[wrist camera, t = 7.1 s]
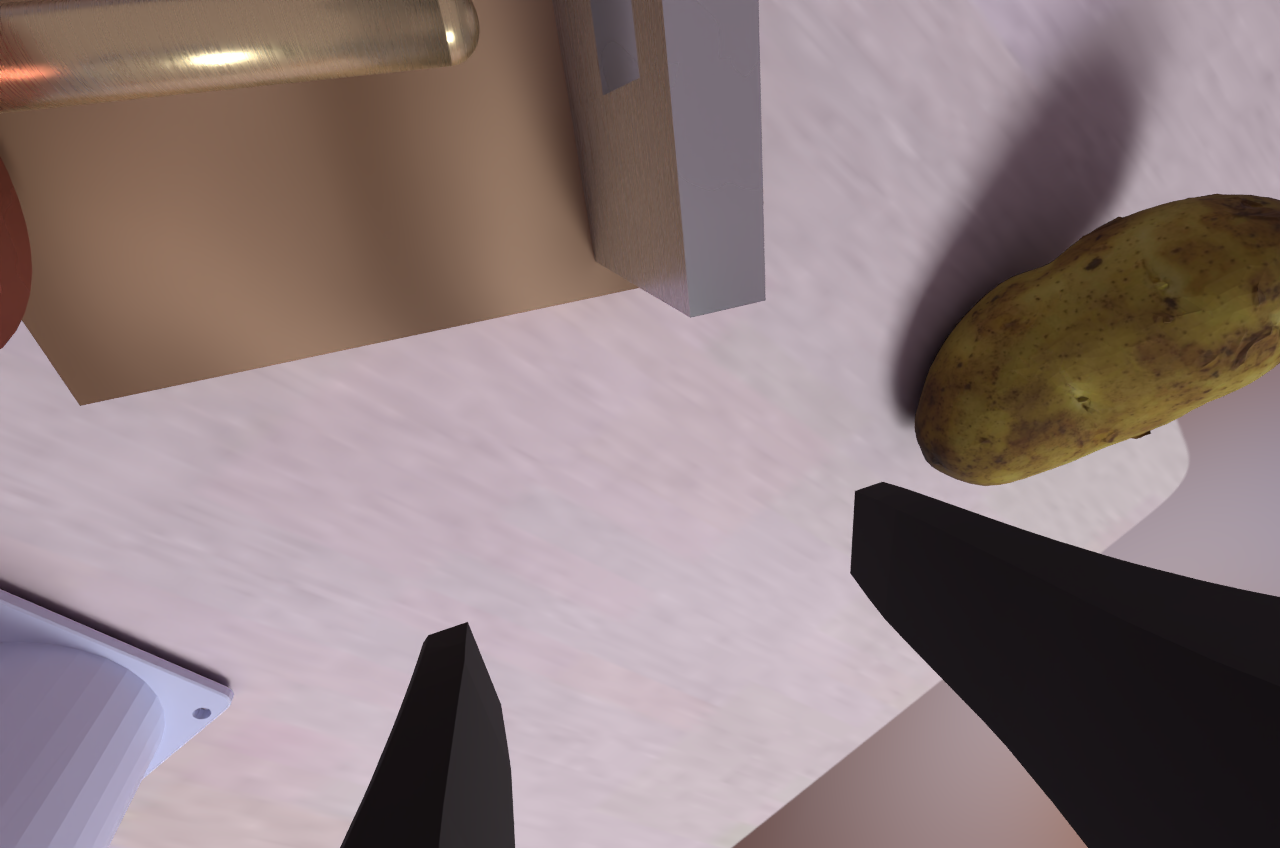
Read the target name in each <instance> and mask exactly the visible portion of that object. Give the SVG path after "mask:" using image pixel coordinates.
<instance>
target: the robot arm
mask: <svg viewBox="0 0 1280 848" xmlns="http://www.w3.org/2000/svg"><path fill="white" fill-rule="evenodd" d="M850 573H851V575H852V576H853V577H854V579H855V580H856V582H857V583H858V584H859V586H860V587H861V588H862V590H863V591H864V593H865V594H866V595H867V597H868V598H869V599H870V601H871V602H872V603H873V604H874V606H875V607H876V608H877V610H878V611H879V612H880V613H881V615H882V616H883V617H884V619H885V620H886V621H887V622H888V623H889V624H890V625H891V626H892V627H893V628H894V629H895V630H896V631H897V632H898V633H899V635H900V636H901V637H902V638H903V639H904V640H905V641H906V642H907V643H908V644H909V645H910V646H911V647H912V648H913V649H914V650H915V651H916V652H917V653H918V654H919V655H920V656H921V657H922V659H923V660H924V661H925V662H926V663H927V664H928V665H929V666H930V667H931V668H932V669H933V670H934V671H935V672H936V673H937V674H938V675H939V676H940V677H941V678H942V679H943V680H944V681H945V682H946V683H947V684H948V685H949V686H950V687H951V688H952V689H953V690H954V691H955V692H956V693H957V694H958V695H959V696H960V698H962V700H964V702H965V703H966V704H967V705H968V706H969V707H970V708H971V709H972V710H973V711H974V712H975V713H976V714H977V715H978V716H979V717H980V718H981V719H982V720H983V721H984V722H985V723H986V724H987V725H988V727H989V728H990V729H991V730H992V731H993V732H994V733H995V734H996V735H997V737H999V739H1000V740H1001V741H1002V742H1003V743H1004V744H1005V745H1006V746H1007V748H1008V749H1009V750H1010V751H1011V752H1012V754H1013V755H1014V756H1015V757H1016V758H1017V760H1018V761H1019V762H1020V763H1021V765H1022V766H1023V767H1024V768H1025V769H1026V771H1027V772H1028V773H1029V774H1030V776H1031V777H1032V778H1033V779H1034V780H1035V782H1036V783H1037V784H1038V785H1039V786H1040V788H1041V789H1042V790H1043V791H1044V792H1045V794H1046V795H1047V796H1048V797H1049V798H1050V799H1051V801H1052V802H1053V803H1054V805H1055V806H1056V807H1057V809H1058V810H1059V811H1060V812H1061V814H1062V815H1063V816H1064V817H1065V819H1066V820H1067V821H1068V823H1069V824H1070V825H1071V827H1072V828H1073V829H1074V830H1075V831H1076V833H1077V834H1078V835H1079V837H1080V838H1081V839H1082V840H1083V842H1084V843H1085V844H1086V846H1087V847H1088V848H1280V597H1277V596H1272V595H1267V594H1261V593H1256V592H1251V591H1246V590H1242V589H1237V588H1233V587H1228V586H1223V585H1219V584H1214V583H1210V582H1206V581H1201V580H1197V579H1193V578H1189V577H1185V576H1181V575H1177V574H1173V573H1169V572H1165V571H1161V570H1157V569H1153V568H1150V567H1146V566H1142V565H1138V564H1134V563H1130V562H1127V561H1123V560H1120V559H1116V558H1112V557H1109V556H1105V555H1102V554H1099V553H1096V552H1092V551H1089V550H1086V549H1083V548H1079V547H1076V546H1073V545H1069V544H1066V543H1063V542H1059V541H1056V540H1053V539H1050V538H1047V537H1044V536H1041V535H1038V534H1035V533H1032V532H1029V531H1026V530H1023V529H1020V528H1017V527H1014V526H1011V525H1008V524H1005V523H1002V522H999V521H996V520H994V519H991V518H988V517H985V516H982V515H979V514H976V513H974V512H971V511H968V510H965V509H962V508H960V507H957V506H954V505H951V504H948V503H945V502H943V501H940V500H937V499H934V498H931V497H928V496H925V495H923V494H920V493H917V492H914V491H911V490H908V489H905V488H902V487H898V486H895V485H892V484H888V483H885V482H881V483H878V484H875V485H872V486H869V487H866V488H863V489H860V490H857V491H855V502H854V519H853V537H852V554H851V572H850ZM233 696H234V693H233V691H232V690H231V689H230V688H228V687H227V686H224V685H222V684H220V683H217V682H215V681H213V680H210V679H208V678H206V677H203V676H201V675H199V674H196V673H194V672H192V671H189V670H187V669H185V668H182V667H180V666H178V665H175V664H173V663H171V662H169V661H166V660H164V659H162V658H159V657H157V656H155V655H152V654H150V653H148V652H145V651H143V650H141V649H138V648H136V647H134V646H131V645H129V644H127V643H124V642H122V641H120V640H117V639H115V638H113V637H110V636H108V635H106V634H104V633H101V632H99V631H97V630H94V629H92V628H90V627H87V626H85V625H83V624H80V623H78V622H76V621H73V620H71V619H69V618H66V617H64V616H62V615H59V614H57V613H55V612H52V611H50V610H48V609H45V608H43V607H41V606H38V605H36V604H34V603H32V602H29V601H27V600H25V599H22V598H20V597H18V596H15V595H13V594H11V593H8V592H6V591H4V590H1V589H0V848H108V847H109V845H110V843H111V841H112V839H113V837H114V835H115V833H116V831H117V829H118V827H119V825H120V823H121V821H122V819H123V817H124V815H125V813H126V811H127V809H128V807H129V805H130V803H131V801H132V799H133V797H134V795H135V793H136V791H137V789H138V787H139V785H140V783H141V781H142V779H143V778H145V777H146V776H147V775H148V774H149V773H151V772H152V771H153V770H154V769H155V768H157V767H158V766H159V765H160V764H161V763H163V762H164V761H165V760H166V759H167V758H169V757H170V756H171V755H172V754H173V753H175V752H176V751H177V750H178V749H179V748H181V747H182V746H183V745H184V744H185V743H187V742H188V741H189V740H190V739H191V738H193V737H194V736H195V735H196V734H198V733H199V732H200V731H201V730H202V729H204V728H205V727H206V726H207V725H208V724H210V723H211V722H212V721H213V720H214V719H216V718H217V717H218V716H219V715H220V714H222V713H223V712H224V711H225V710H226V709H227V708H228V707H229V706H230V704H231V702H232V699H233ZM200 708H207V709H200ZM340 848H515V837H514V817H513V798H512V779H511V767H510V760H509V753H508V746H507V739H506V733H505V727H504V721H503V714H502V708H501V703H500V701H499V698H498V696H497V694H496V691H495V689H494V686H493V684H492V681H491V679H490V676H489V674H488V671H487V669H486V666H485V664H484V661H483V659H482V656H481V654H480V651H479V649H478V646H477V644H476V641H475V639H474V636H473V634H472V631H471V629H470V627H469V624H468V622H466V623H463V624H460V625H457V626H454V627H451V628H449V629H446V630H443V631H440V632H437V633H434V634H431V635H428V637H427V638H426V640H425V641H424V643H423V646H422V649H421V652H420V655H419V658H418V661H417V664H416V666H415V669H414V672H413V675H412V678H411V681H410V684H409V686H408V689H407V692H406V694H405V697H404V700H403V702H402V705H401V708H400V710H399V713H398V715H397V718H396V721H395V723H394V726H393V728H392V731H391V733H390V736H389V738H388V740H387V743H386V745H385V748H384V750H383V753H382V755H381V757H380V760H379V762H378V765H377V767H376V769H375V772H374V774H373V777H372V779H371V781H370V784H369V786H368V788H367V791H366V793H365V795H364V797H363V800H362V802H361V804H360V806H359V808H358V810H357V812H356V815H355V817H354V819H353V821H352V823H351V825H350V828H349V830H348V832H347V834H346V836H345V838H344V840H343V843H342V845H341V847H340Z"/></svg>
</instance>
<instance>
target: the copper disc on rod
mask: <svg viewBox="0 0 1280 848" xmlns="http://www.w3.org/2000/svg"><path fill="white" fill-rule="evenodd" d="M479 32H480V25H479V19H478V15H477V11H476V9H475V7H474V4H473V2H472V1H471V0H39V1H24V2H9V3H0V113H10V112H19V111H29V110H38V109H48V108H57V107H67V106H76V105H86V104H96V103H105V102H115V101H124V100H134V99H143V98H153V97H162V96H172V95H182V94H191V93H201V92H210V91H220V90H229V89H239V88H249V87H258V86H268V85H277V84H287V83H296V82H306V81H315V80H325V79H335V78H344V77H354V76H363V75H373V74H382V73H392V72H402V71H411V70H421V69H430V68H440V67H449V66H455V65H459V64H461V63H463V62H465V61H466V60H467V59H468V58H469V57H470V56H471V55H472V54H473V52H474V51H475V49H476V47H477V44H478V40H479ZM31 280H32V260H31V247H30V242H29V236H28V231H27V226H26V222H25V219H24V215H23V212H22V209H21V205H20V202H19V199H18V196H17V194H16V191H15V188H14V186H13V183H12V181H11V178H10V176H9V173H8V171H7V169H6V167H5V165H4V163H3V161H2V159H1V157H0V349H1V348H3V347H4V345H5V344H6V343H7V342H8V340H9V339H10V338H11V337H12V335H13V334H14V333H15V332H16V330H17V328H18V326H19V324H20V322H21V320H22V318H23V316H24V314H25V311H26V307H27V304H28V300H29V296H30V291H31Z"/></svg>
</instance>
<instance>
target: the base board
mask: <svg viewBox="0 0 1280 848" xmlns="http://www.w3.org/2000/svg"><path fill="white" fill-rule="evenodd" d="M24 1H39V0H0V3H9V2H24ZM471 1H472V2H473V4H474V7H475V9H476V11H477V15H478V19H479V25H480V32H479V40H478V44H477V47H476V49H475V51H474V52H473V54H472V55H471V56H470V57H469V58H468V59H467V60H466V61H465V62H463V63H461V64H459V65H455V66H449V67H440V68H430V69H421V70H411V71H402V72H392V73H382V74H373V75H363V76H354V77H344V78H335V79H325V80H315V81H306V82H296V83H287V84H277V85H268V86H258V87H249V88H239V89H229V90H220V91H210V92H201V93H191V94H182V95H172V96H162V97H153V98H143V99H134V100H124V101H115V102H105V103H96V104H86V105H76V106H67V107H57V108H48V109H38V110H29V111H19V112H10V113H0V157H1V159H2V161H3V163H4V165H5V167H6V169H7V171H8V173H9V176H10V178H11V181H12V183H13V186H14V188H15V191H16V194H17V196H18V199H19V202H20V205H21V209H22V212H23V215H24V219H25V222H26V226H27V231H28V236H29V242H30V247H31V260H32V280H31V291H30V296H29V300H28V304H27V307H26V311H25V314H24V316H23V318H22V321H23V322H24V324H25V325H26V327H27V328H28V330H29V331H30V333H31V334H32V336H33V337H34V339H35V340H36V341H37V343H38V344H39V346H40V347H41V349H42V350H43V352H44V353H45V355H46V356H47V358H48V359H49V361H50V362H51V364H52V365H53V367H54V368H55V370H56V371H57V372H58V374H59V375H60V377H61V378H62V380H63V381H64V383H65V384H66V386H67V387H68V389H69V390H70V392H71V393H72V395H73V396H74V398H75V399H76V400H77V402H78V403H79V405H80V406H81V405H86V404H90V403H95V402H100V401H105V400H109V399H114V398H119V397H124V396H128V395H133V394H138V393H143V392H147V391H152V390H157V389H162V388H166V387H171V386H176V385H181V384H185V383H190V382H195V381H199V380H204V379H209V378H214V377H218V376H223V375H228V374H233V373H237V372H242V371H247V370H252V369H256V368H261V367H266V366H271V365H275V364H280V363H285V362H290V361H294V360H299V359H304V358H309V357H313V356H318V355H323V354H327V353H332V352H337V351H342V350H346V349H351V348H356V347H361V346H365V345H370V344H375V343H380V342H384V341H389V340H394V339H399V338H403V337H408V336H413V335H418V334H422V333H427V332H432V331H436V330H441V329H446V328H451V327H455V326H460V325H465V324H470V323H474V322H479V321H484V320H489V319H493V318H498V317H503V316H508V315H512V314H517V313H522V312H527V311H531V310H536V309H541V308H546V307H550V306H555V305H560V304H564V303H569V302H574V301H579V300H583V299H588V298H593V297H598V296H602V295H607V294H612V293H617V292H621V291H626V290H631V289H636V288H639V287H638V286H636V285H634V284H633V283H631V282H629V281H627V280H626V279H624V278H622V277H621V276H619V275H617V274H615V273H614V272H612V271H610V270H609V269H607V268H605V267H604V266H602V265H600V264H598V263H597V262H595V256H594V250H593V244H592V238H591V232H590V226H589V220H588V214H587V208H586V202H585V196H584V190H583V184H582V178H581V172H580V166H579V159H578V153H577V147H576V141H575V135H574V129H573V123H572V117H571V111H570V105H569V99H568V93H567V87H566V81H565V75H564V69H563V62H562V56H561V50H560V44H559V38H558V32H557V26H556V20H555V14H554V8H553V2H552V0H471Z"/></svg>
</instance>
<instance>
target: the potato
mask: <svg viewBox="0 0 1280 848" xmlns="http://www.w3.org/2000/svg"><path fill="white" fill-rule="evenodd" d="M1279 363H1280V200H1277V199H1273V198H1269V197H1259V196H1254V195H1222V194H1213V195H1207V196H1201V197H1195V198H1187V199H1184V200H1178V201H1173V202H1169V203H1166V204H1162V205H1159V206H1156V207H1152V208H1149V209H1146V210H1142V211H1139V212H1137V213H1134V214H1131V215H1129V216H1126V217H1123V218H1122V217H1117V218H1116V219H1114V220H1112V221H1110V222H1108V223H1106V224H1104V225H1102V226H1100V227H1099V228H1097V229H1095V230H1094V231H1092V232H1091V233H1089V234H1087V235H1085V236H1083V237H1082V238H1081V239H1080V240H1079V241H1077V242H1076V243H1075V244H1073V245H1072V246H1071V247H1069V248H1068V249H1067V250H1066V251H1065V252H1064V253H1062V254H1061V255H1060V256H1059V257H1058V258H1056V259H1055V260H1054V261H1053V262H1051V263H1049V264H1047V265H1045V266H1043V267H1040V268H1037V269H1034V270H1031V271H1028V272H1025V273H1022V274H1019V275H1016V276H1014V277H1011V278H1010V279H1008V280H1006V281H1004V282H1003V283H1001V284H999V285H998V286H997V287H995V288H994V289H993V290H992V291H990V292H989V293H988V294H987V295H986V296H984V297H983V298H982V299H981V300H980V301H979V302H978V303H977V304H976V305H975V306H974V307H973V308H972V309H971V310H970V311H969V312H968V313H967V314H966V315H965V316H964V317H963V318H962V319H961V321H960V322H959V323H958V324H957V326H956V327H955V328H954V330H953V331H952V332H951V334H950V335H949V336H948V338H947V339H946V340H945V342H944V344H943V345H942V347H941V349H940V350H939V352H938V354H937V356H936V358H935V360H934V362H933V364H932V365H931V367H930V370H929V372H928V375H927V377H926V381H925V384H924V387H923V390H922V393H921V396H920V400H919V404H918V408H917V411H916V415H915V433H916V438H917V441H918V444H919V446H920V448H921V451H922V453H923V455H924V458H925V460H926V461H927V462H928V463H929V464H930V465H931V466H932V467H933V468H935V469H937V470H939V471H940V472H942V473H944V474H946V475H948V476H950V477H953V478H955V479H957V480H961V481H964V482H967V483H970V484H976V485H982V486H989V485H1001V484H1006V483H1011V482H1014V481H1017V480H1020V479H1024V478H1027V477H1030V476H1033V475H1036V474H1039V473H1042V472H1044V471H1047V470H1050V469H1053V468H1056V467H1059V466H1061V465H1064V464H1067V463H1069V462H1072V461H1074V460H1077V459H1079V458H1081V457H1084V456H1086V455H1088V454H1091V453H1093V452H1095V451H1097V450H1100V449H1102V448H1105V447H1107V446H1110V445H1113V444H1116V443H1118V442H1121V441H1124V440H1127V439H1129V438H1134V439H1137V438H1141V437H1143V436H1145V435H1148V434H1151V432H1150V430H1153V429H1155V428H1157V427H1160V426H1163V425H1165V424H1168V423H1169V422H1171V421H1173V420H1175V419H1177V418H1179V417H1181V416H1183V415H1185V414H1186V413H1188V412H1190V411H1191V410H1193V409H1195V408H1198V407H1200V406H1202V405H1203V404H1205V403H1207V402H1209V401H1212V400H1215V399H1217V398H1220V397H1222V396H1225V395H1227V394H1229V393H1231V392H1233V391H1236V390H1238V389H1240V388H1242V387H1244V386H1246V385H1248V384H1250V383H1252V382H1253V381H1255V380H1257V379H1258V378H1260V377H1261V376H1263V375H1264V374H1265V373H1267V372H1268V371H1270V370H1271V369H1273V368H1274V367H1275V366H1276V365H1278V364H1279Z"/></svg>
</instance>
